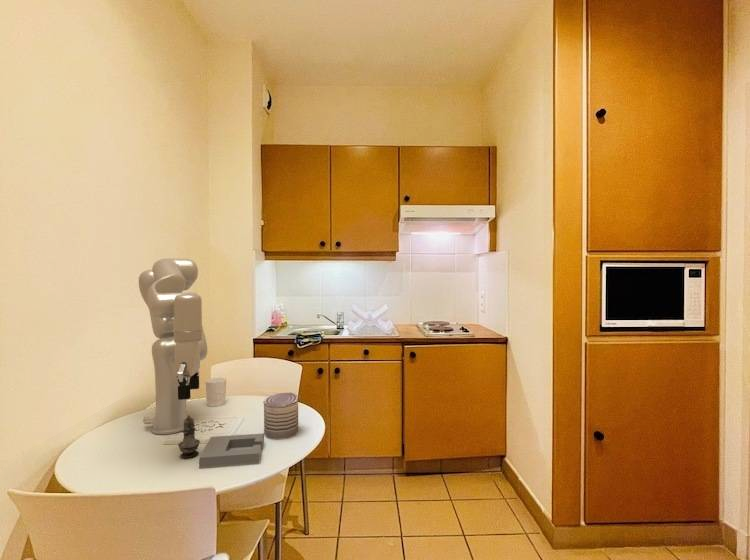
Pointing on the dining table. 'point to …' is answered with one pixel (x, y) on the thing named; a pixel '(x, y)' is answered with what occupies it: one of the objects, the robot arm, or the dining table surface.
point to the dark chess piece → (189, 440)
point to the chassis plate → (232, 450)
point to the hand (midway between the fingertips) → (189, 393)
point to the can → (281, 416)
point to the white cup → (216, 391)
